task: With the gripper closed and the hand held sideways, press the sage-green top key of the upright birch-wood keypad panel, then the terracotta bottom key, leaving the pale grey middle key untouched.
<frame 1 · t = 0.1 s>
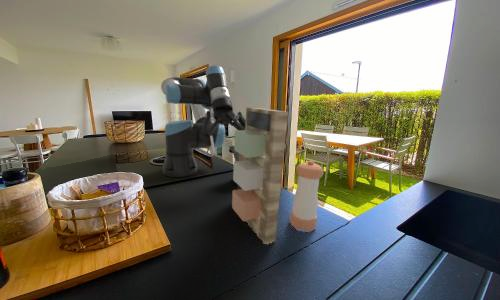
hand: (232, 153, 72), 15 cm above the kitchen island, tool tilted 35°, fingers open, 13 cm apart
salt shaker: (302, 225, 59), on the kitchen island
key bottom: (246, 203, 53), point 8 cm above the kitchen island, slide at 0.0 cm
keypad panel: (256, 227, 56), on the kitchen island
coffeepot: (245, 181, 88), on the kitchen island
key middle: (248, 174, 51), point 16 cm above the kitchen island, slide at 0.0 cm
travel mug: (248, 203, 69), on the kitchen island
key top: (250, 142, 49), point 24 cm above the kitchen island, slide at 0.0 cm
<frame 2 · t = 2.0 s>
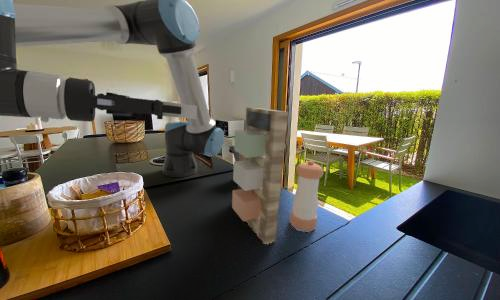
hand: (187, 112, 48), 30 cm above the kitchen island, tool horizontal, fingers open, 13 cm apart
nothing on the kitchen island moved.
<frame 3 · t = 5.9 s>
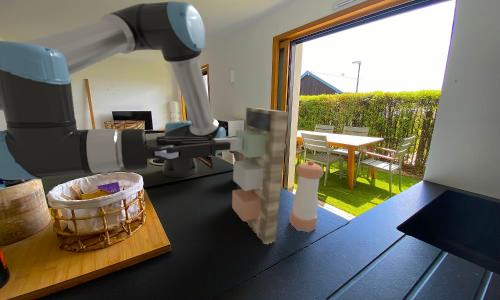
hand: (241, 143, 47), 24 cm above the kitchen island, tool horizontal, fingers closed
key top: (250, 142, 49), point 24 cm above the kitchen island, slide at 0.3 cm, touching gripper
everything else where it was.
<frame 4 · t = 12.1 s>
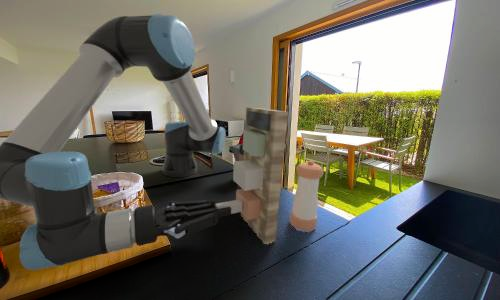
hand: (241, 205, 52), 8 cm above the kitchen island, tool horizontal, fingers closed
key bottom: (250, 202, 53), point 8 cm above the kitchen island, slide at 1.1 cm, touching gripper
key top: (258, 142, 50), point 24 cm above the kitchen island, slide at 2.3 cm
everything else where it was.
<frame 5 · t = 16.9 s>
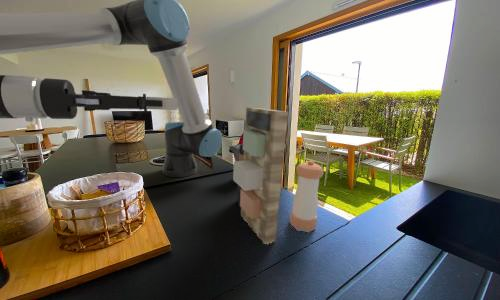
hand: (176, 104, 49), 32 cm above the kitchen island, tool horizontal, fingers closed
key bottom: (254, 201, 54), point 8 cm above the kitchen island, slide at 2.3 cm
everything else where it was.
at the end: key top slide at 2.3 cm; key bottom slide at 2.3 cm; key middle slide at 0.0 cm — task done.
